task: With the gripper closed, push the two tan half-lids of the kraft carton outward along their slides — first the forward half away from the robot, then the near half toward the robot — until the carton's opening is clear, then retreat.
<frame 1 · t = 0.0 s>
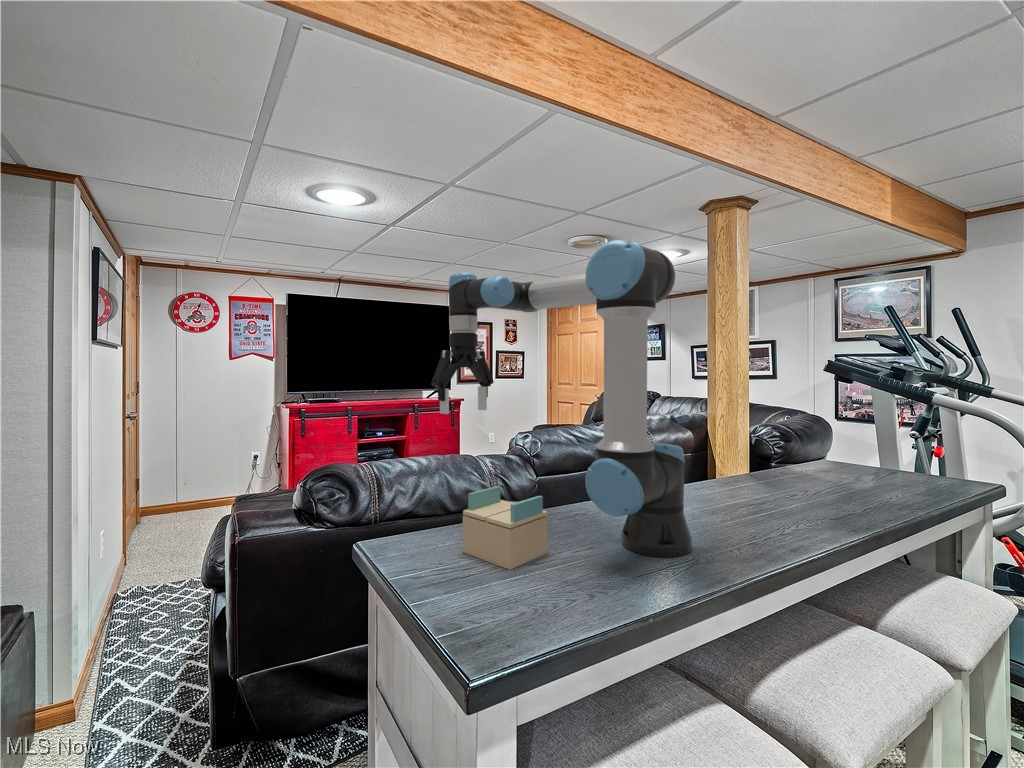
hand: (464, 411, 135), 28 cm above the table, fingers open, 13 cm apart
ceramic mug: (518, 531, 123), on the table
lid near: (517, 508, 106), point 10 cm above the table, slide at 0.0 cm
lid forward: (493, 501, 111), point 10 cm above the table, slide at 0.0 cm
carton: (505, 552, 109), on the table
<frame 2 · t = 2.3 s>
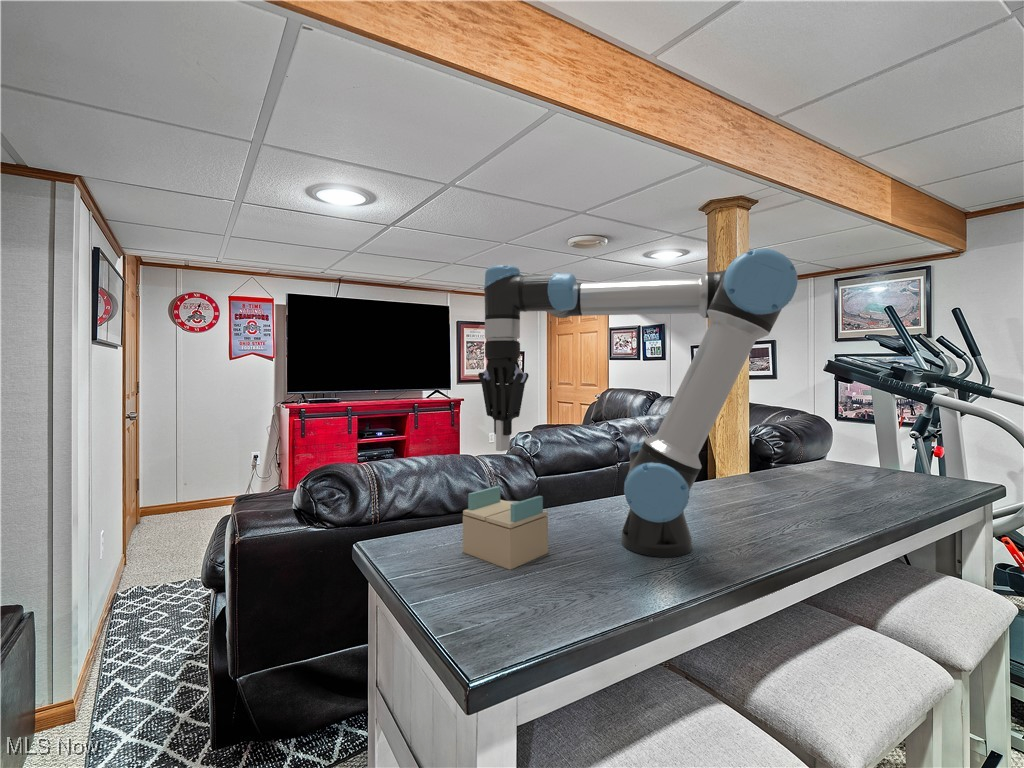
hand: (502, 449, 108), 22 cm above the table, fingers closed
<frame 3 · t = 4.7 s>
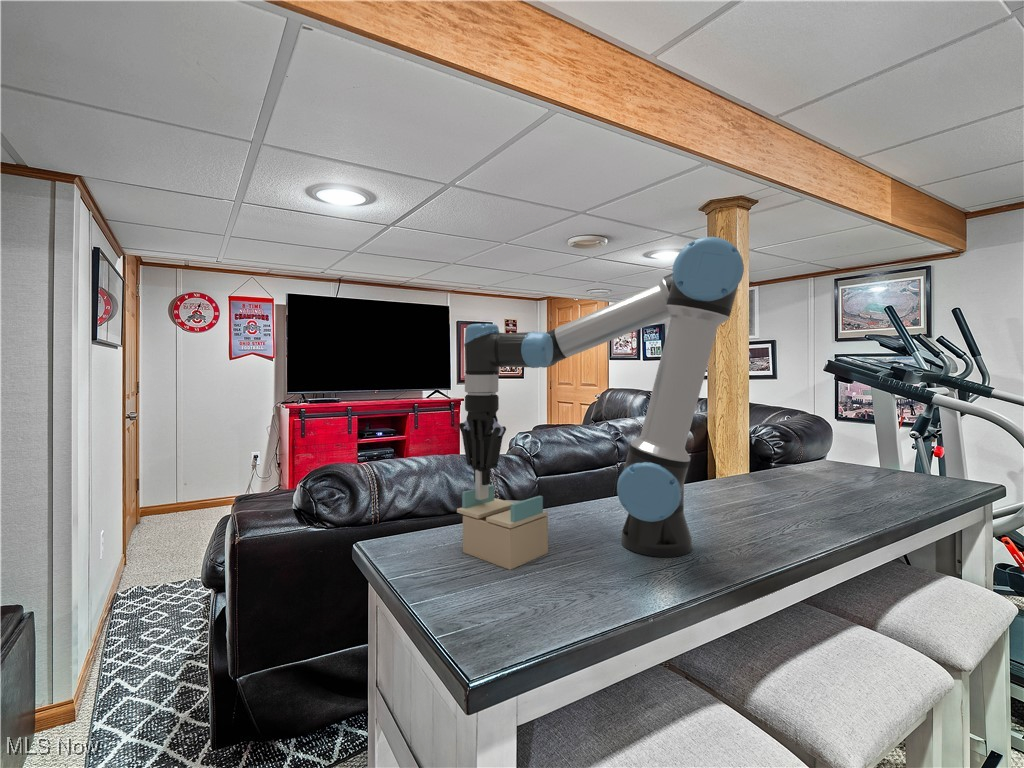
hand: (481, 498, 113), 11 cm above the table, fingers closed
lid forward: (486, 500, 112), point 10 cm above the table, slide at 2.0 cm, touching gripper
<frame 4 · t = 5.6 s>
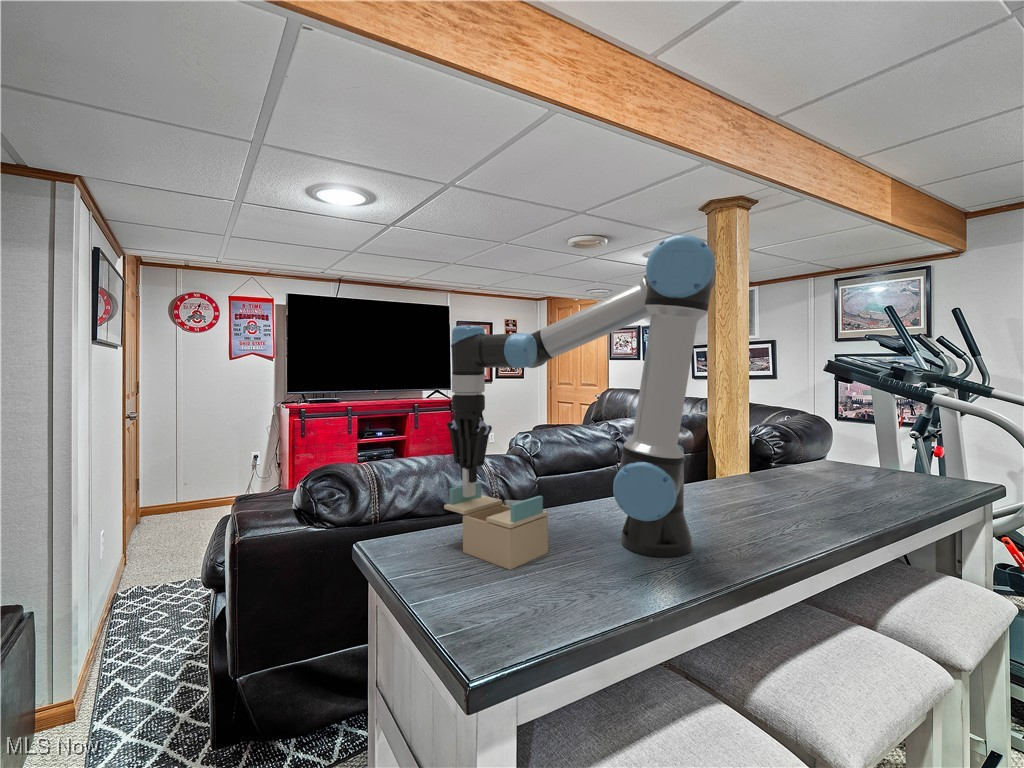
hand: (469, 495, 116), 10 cm above the table, fingers closed
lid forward: (473, 496, 115), point 10 cm above the table, slide at 6.4 cm, touching gripper
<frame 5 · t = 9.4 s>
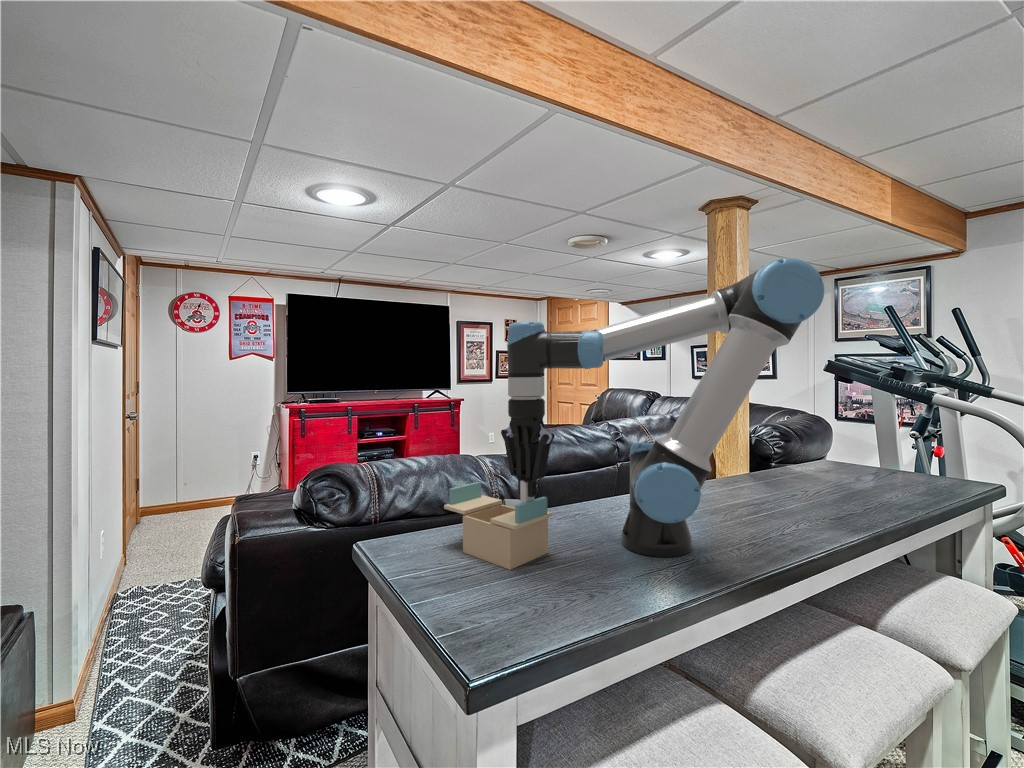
hand: (527, 511, 104), 10 cm above the table, fingers closed
lid near: (521, 509, 105), point 10 cm above the table, slide at 1.2 cm, touching gripper
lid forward: (473, 496, 115), point 10 cm above the table, slide at 6.4 cm
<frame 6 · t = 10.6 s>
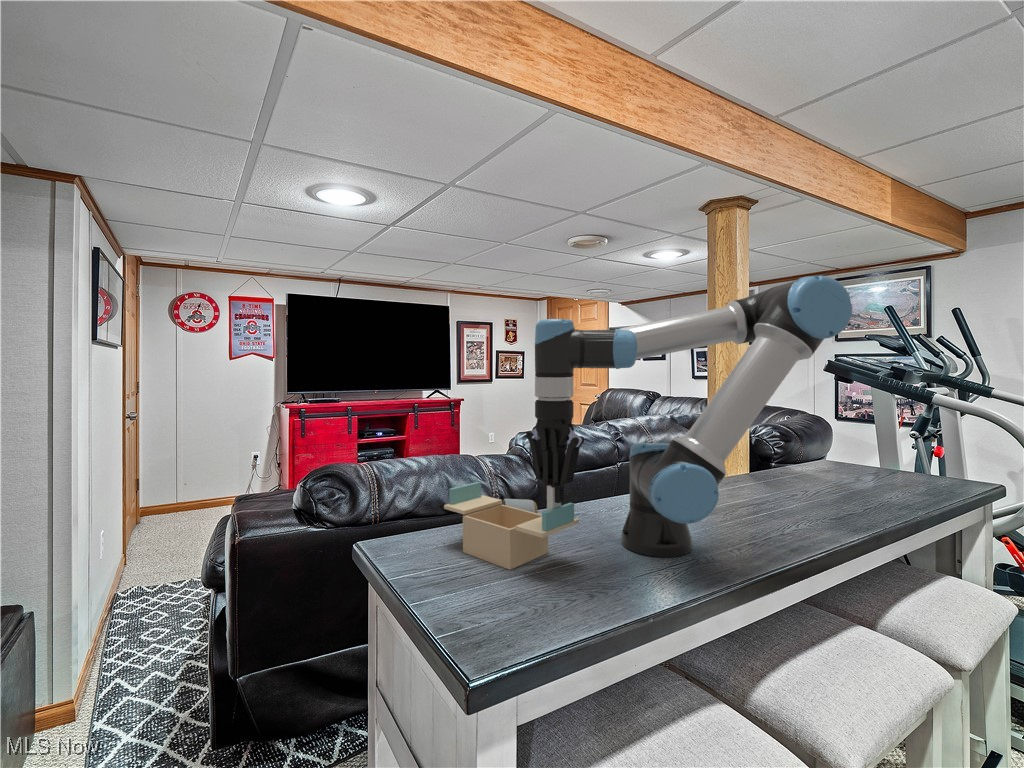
hand: (554, 517, 99), 10 cm above the table, fingers closed
lid near: (547, 515, 100), point 10 cm above the table, slide at 8.2 cm, touching gripper
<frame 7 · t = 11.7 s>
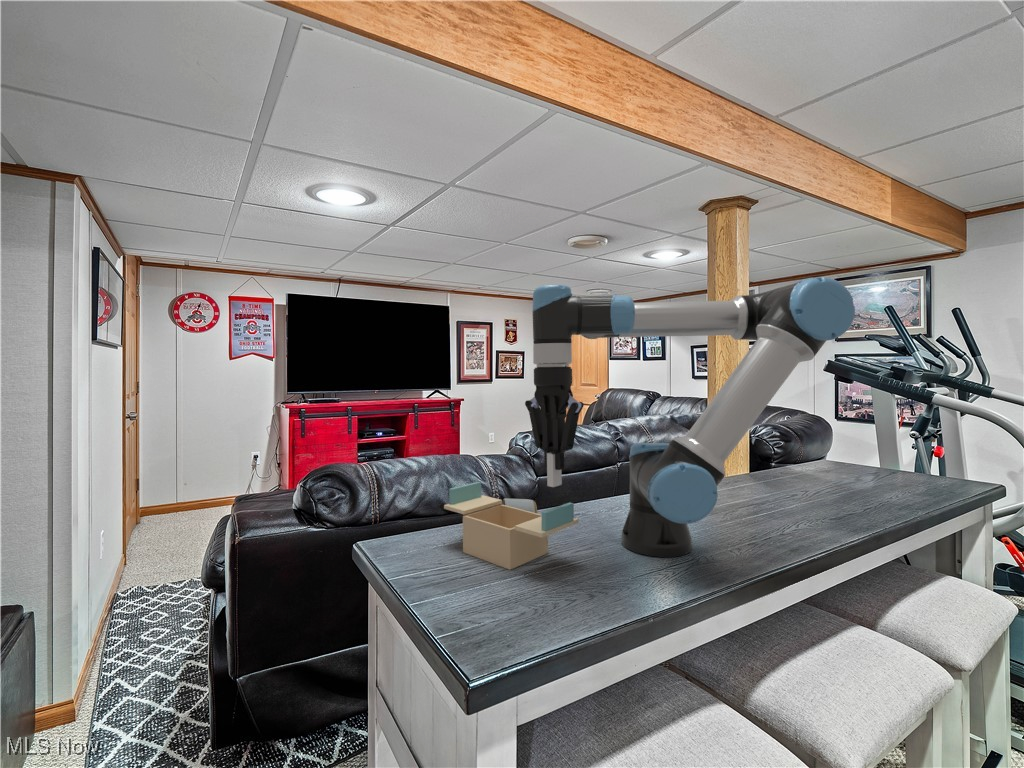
hand: (554, 485, 99), 17 cm above the table, fingers closed
lid near: (547, 515, 100), point 10 cm above the table, slide at 8.0 cm
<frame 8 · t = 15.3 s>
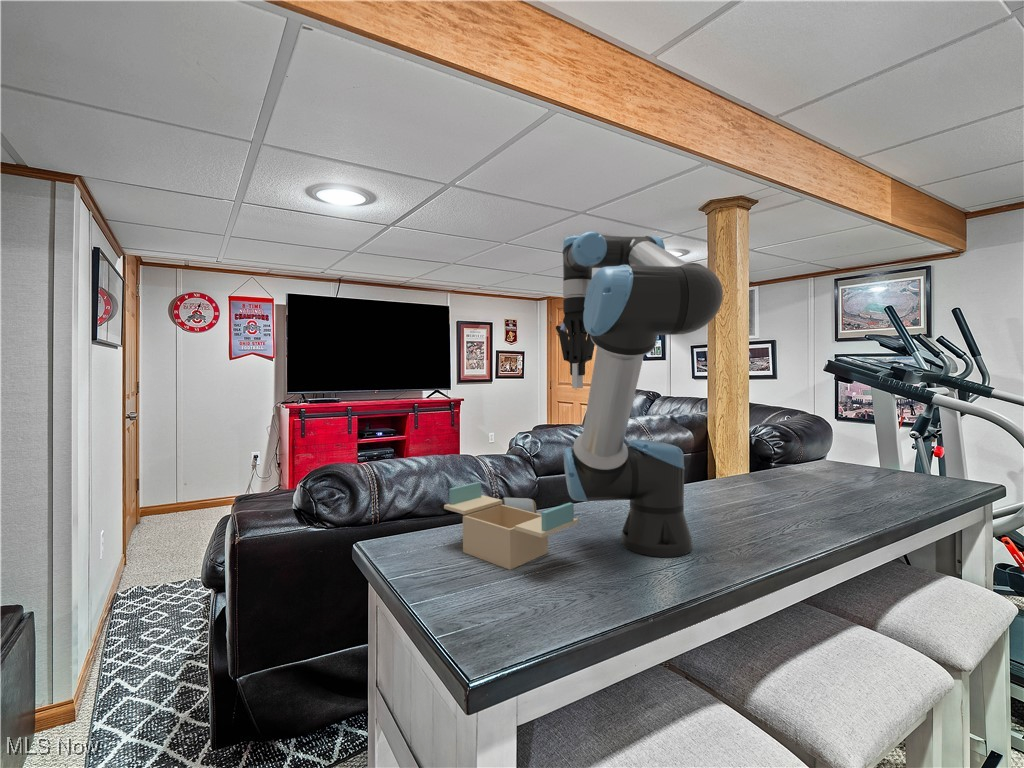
hand: (577, 388, 132), 34 cm above the table, fingers closed
at the end: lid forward slide at 6.4 cm; lid near slide at 8.0 cm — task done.
